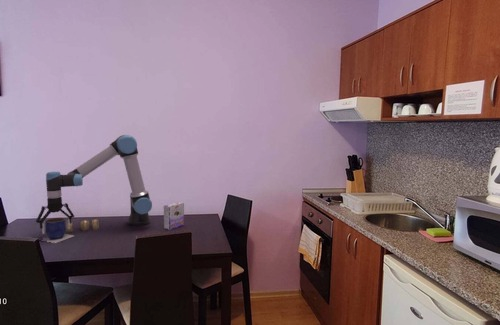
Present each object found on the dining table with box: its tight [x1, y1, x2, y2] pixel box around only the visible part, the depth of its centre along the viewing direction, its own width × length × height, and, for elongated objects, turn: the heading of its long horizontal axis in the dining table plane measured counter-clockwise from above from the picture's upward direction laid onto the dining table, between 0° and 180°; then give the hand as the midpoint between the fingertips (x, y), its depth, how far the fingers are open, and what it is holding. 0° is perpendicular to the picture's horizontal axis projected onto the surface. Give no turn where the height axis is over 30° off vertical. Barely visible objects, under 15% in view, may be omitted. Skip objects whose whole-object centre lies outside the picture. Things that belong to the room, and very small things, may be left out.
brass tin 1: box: [66, 221, 74, 233], centre depth 212 cm, size 4×4×6 cm
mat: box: [46, 233, 75, 244], centre depth 199 cm, size 14×14×1 cm
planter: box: [44, 217, 67, 239], centre depth 198 cm, size 11×11×11 cm
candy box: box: [163, 201, 185, 231], centre depth 224 cm, size 14×6×16 cm, turn 145°
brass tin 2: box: [80, 219, 89, 231], centre depth 217 cm, size 4×4×6 cm
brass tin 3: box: [91, 218, 99, 230], centre depth 219 cm, size 4×4×6 cm
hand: (56, 231), depth 199 cm, fingers open, 13 cm apart
